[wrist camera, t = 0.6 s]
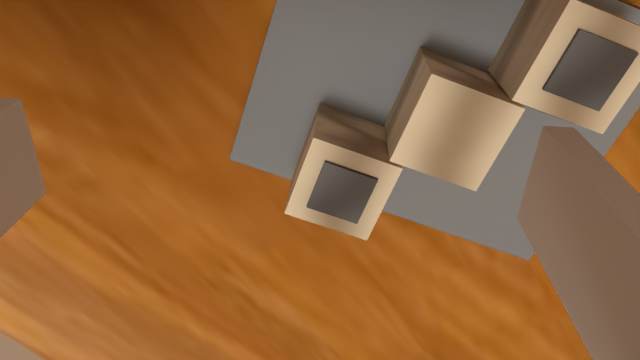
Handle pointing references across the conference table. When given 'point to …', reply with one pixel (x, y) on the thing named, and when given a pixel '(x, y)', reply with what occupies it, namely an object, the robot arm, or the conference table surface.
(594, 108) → the marked block
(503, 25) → the mat
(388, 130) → the plain block
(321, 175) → the marked block
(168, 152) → the conference table surface
